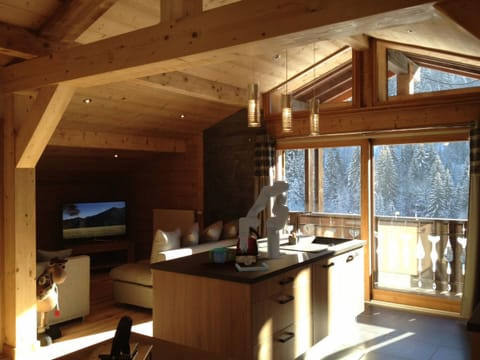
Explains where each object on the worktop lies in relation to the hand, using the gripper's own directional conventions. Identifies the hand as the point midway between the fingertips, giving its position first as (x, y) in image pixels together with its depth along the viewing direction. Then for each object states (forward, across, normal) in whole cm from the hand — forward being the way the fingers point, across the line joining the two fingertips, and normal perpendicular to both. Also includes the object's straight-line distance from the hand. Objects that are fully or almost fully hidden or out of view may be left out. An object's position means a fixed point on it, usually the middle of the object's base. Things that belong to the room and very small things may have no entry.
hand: (244, 258), depth 349 cm
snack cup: (+2, +6, -19) cm, 20 cm away
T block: (+1, +12, 0) cm, 12 cm away
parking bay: (+1, +31, 0) cm, 31 cm away
